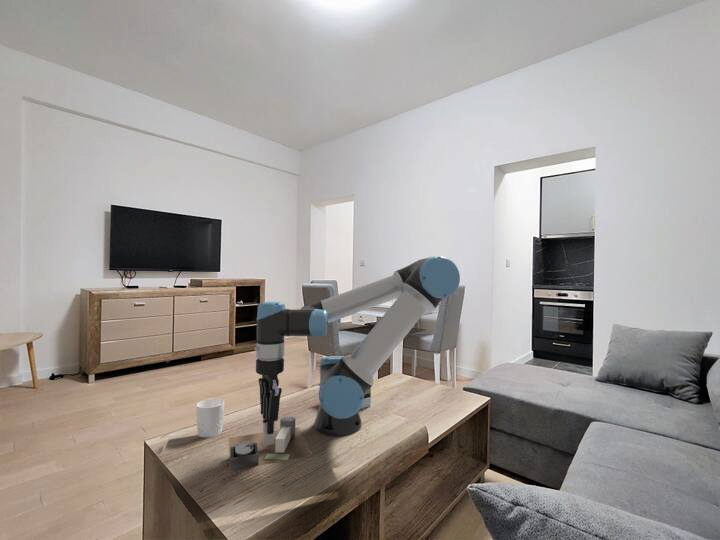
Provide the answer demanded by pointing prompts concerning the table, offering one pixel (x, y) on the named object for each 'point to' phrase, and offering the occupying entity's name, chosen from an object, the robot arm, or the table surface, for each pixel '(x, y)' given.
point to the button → (243, 448)
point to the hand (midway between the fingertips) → (268, 443)
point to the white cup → (210, 417)
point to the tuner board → (267, 450)
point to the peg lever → (285, 433)
